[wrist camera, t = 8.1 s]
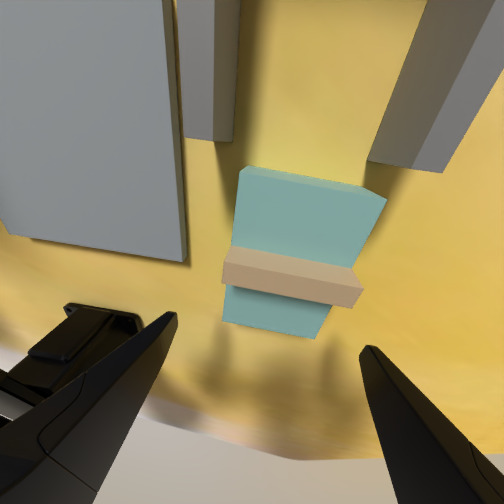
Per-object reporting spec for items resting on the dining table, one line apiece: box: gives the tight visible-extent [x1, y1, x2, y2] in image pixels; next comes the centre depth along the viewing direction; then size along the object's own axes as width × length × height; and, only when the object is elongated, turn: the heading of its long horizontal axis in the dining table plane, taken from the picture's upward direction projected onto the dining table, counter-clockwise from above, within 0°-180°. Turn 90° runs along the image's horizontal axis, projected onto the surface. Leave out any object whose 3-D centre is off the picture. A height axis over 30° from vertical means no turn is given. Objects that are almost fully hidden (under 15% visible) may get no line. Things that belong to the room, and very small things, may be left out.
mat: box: [0, 0, 187, 262], centre depth 10 cm, size 12×12×1 cm
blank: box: [222, 165, 387, 339], centre depth 11 cm, size 9×6×4 cm, turn 170°
